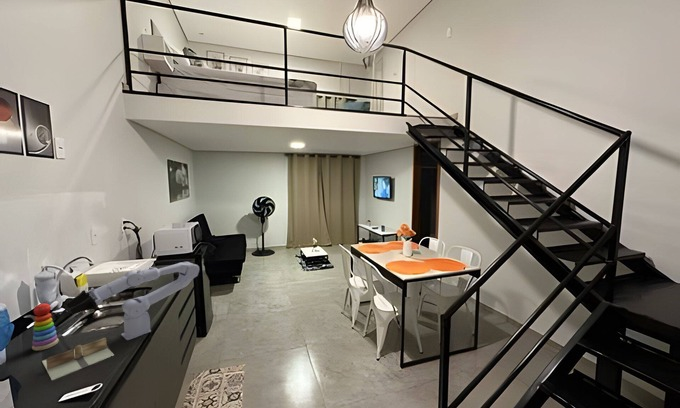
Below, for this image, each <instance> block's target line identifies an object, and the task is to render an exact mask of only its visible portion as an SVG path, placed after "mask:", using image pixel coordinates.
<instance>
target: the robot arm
mask: <svg viewBox="0 0 680 408" xmlns="http://www.w3.org/2000/svg"><path fill="white" fill-rule="evenodd" d="M173 273H178V277H177V279H176V280H173V281H172V282H169V283H168V284H165V285H163V286H161V287H160V288H157V289H155V290H154V291H151V292H150V293H147V294H145V295H144V296H143V295H142V296H141V295H140V296H138V297H134V298H129V299H127V300H125V301H124V302H123V303H122V305H121V310H122V312H123V313H124V315H123V327H124V328H123V329H124V330H123V331H124V332H123V333H121V334H120V335H121V337H123V338H124V339H125V340H126V341H130V340H133V339H135V338H138V337H140V336H143V335H145V334H148V333H151V332H152V330H151V319H150V318H151V317H150V315H149V312H148V310H149V308H150V306H152V305H154V304H155V303H157V302H160V301H161V300H163V299H166V298H167V297H169V296H170V295H172V294H175V293H176V292H178V291H180V290H182V289H184V288H186V287H187V286H188V285H189V284H190V283H191V282H192V281H193V280H194V279H195V278H196V277H198V276H199V273H200V266H199V265H198V264H195V263H192V262H190V261H183V262H178V263H175V264H171V265H167V266H163V267H161V268H157V267H153V266H149V267H148V268H145V269H142V270H141V269H138V270H137V272H136V271H128V272H126V273H124V275H123V276H122V277H119V278H116V279H115V280H113V281H110V282H108V283H105V284H104V285H102V286H100V287H97V288H94V287H91V288H90V289H89V290H87V291H86V290H82V291H81V292H80V293H79V294H78V295H76V296H75V297H74V298H72V299H71V300H69V301H68V302H66V303H65V306H66V308H67V309H69V311H70V312H71V314H72V315H75V314H78V313H81V312H85V311H90V310H91V311H92V310H96V309H97V306H99V305H101V304H103V303H104V302H103V301H104V300H107V299H109V298H111V297H113V296H115V295H117V294H119V293H121V292H123V291H125V290H127V289H129V288H131V287H138V286H140V285H141V284H142V283H147V282H150V281H154V280H155V281H156V280H158V279H159V277H160V276H164V275H165V276H166V275H168V274H173Z"/></svg>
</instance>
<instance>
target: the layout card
mask: <svg viewBox="0 0 680 408" xmlns="http://www.w3.org/2000/svg"><path fill="white" fill-rule="evenodd" d="M81 348H82V346H81ZM73 349H74V356H75V348H73ZM111 356H112V357H113V356H115V354H114V353H113V352H112V351H111V350H110V347H109V345H107V348H105V349H102V350H99V351H97V352H94V353H92V354H89V355H86V356H84V357H83V353H82V358H80V359H74V360H71V361H68V362H66V363H63V364H61V365H58V366H55V367H53V368H50V369H47V361H46V359H44V360H42V361H41V362H42V364H43V366H44V368H45V370H46V372H47V374H48V377H49V378H50V381H55V380H58V379H59V378H62V377H65V376H68V375H69V374H72V373H75V372H76V371H80V370H81V369H84V368H86V367H89V366H91V365H94V364H97V363H99V362H102V361H104V360H106V359H109V358H111Z"/></svg>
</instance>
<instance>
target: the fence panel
mask: <svg viewBox="0 0 680 408" xmlns="http://www.w3.org/2000/svg"><path fill="white" fill-rule="evenodd" d="M74 349H75V348H72V349H69V350H66V351H64V352H60V353H57V354H55V355H51V356H49V357H46V359H45V360H46V361H47V369H50V368H53V367H55V366H58V365H61V364H63V363H66V362H68V361H71V360H74V359H75V356H74Z"/></svg>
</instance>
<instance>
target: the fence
mask: <svg viewBox="0 0 680 408" xmlns="http://www.w3.org/2000/svg"><path fill="white" fill-rule="evenodd" d="M107 346H108V345H107V337H102V338H99V339H96V340H94V341H92V342H88V343H85V344H84V345H81V344H78V345H75V346H74V349H75V359H80V358H82V353H83V357H84V356H86V355H89V354H92V353H94V352H97V351H99V350H102V349H105V348H107ZM81 347H82V348H81Z"/></svg>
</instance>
